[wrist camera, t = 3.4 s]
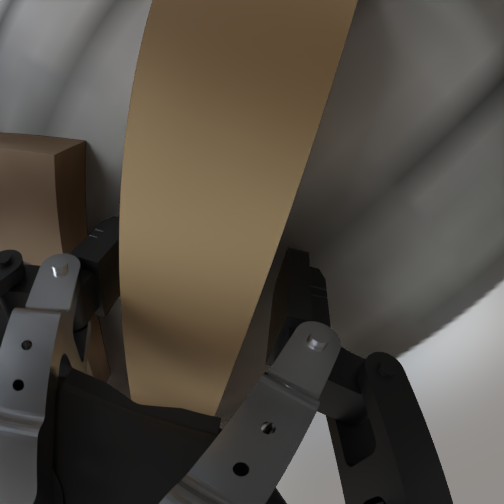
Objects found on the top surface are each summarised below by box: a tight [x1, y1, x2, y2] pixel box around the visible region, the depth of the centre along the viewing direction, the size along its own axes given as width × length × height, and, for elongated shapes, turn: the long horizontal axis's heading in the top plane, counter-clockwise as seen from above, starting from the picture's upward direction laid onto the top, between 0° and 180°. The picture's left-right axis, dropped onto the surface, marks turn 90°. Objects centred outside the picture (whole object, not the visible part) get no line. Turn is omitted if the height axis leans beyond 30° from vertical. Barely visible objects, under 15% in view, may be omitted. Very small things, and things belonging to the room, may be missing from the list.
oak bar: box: [119, 0, 358, 416], centre depth 10 cm, size 24×4×5 cm, turn 165°
